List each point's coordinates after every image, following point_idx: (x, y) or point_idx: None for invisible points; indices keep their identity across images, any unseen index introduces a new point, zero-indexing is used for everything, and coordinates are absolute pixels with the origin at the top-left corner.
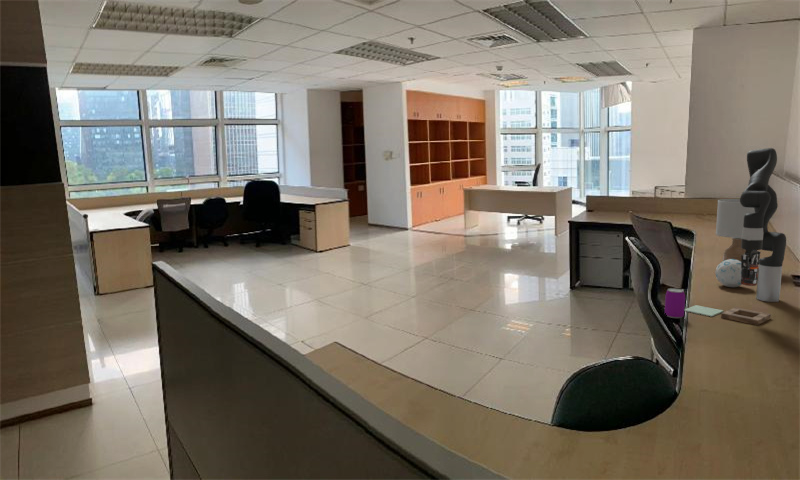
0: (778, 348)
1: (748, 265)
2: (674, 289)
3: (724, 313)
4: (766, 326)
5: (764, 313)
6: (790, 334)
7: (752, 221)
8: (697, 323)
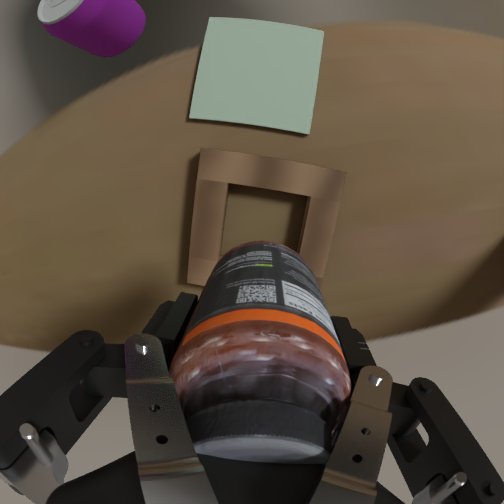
0: (48, 331)
1: (92, 409)
2: None
3: (204, 159)
4: None
5: None
6: None
7: None
8: (81, 118)
